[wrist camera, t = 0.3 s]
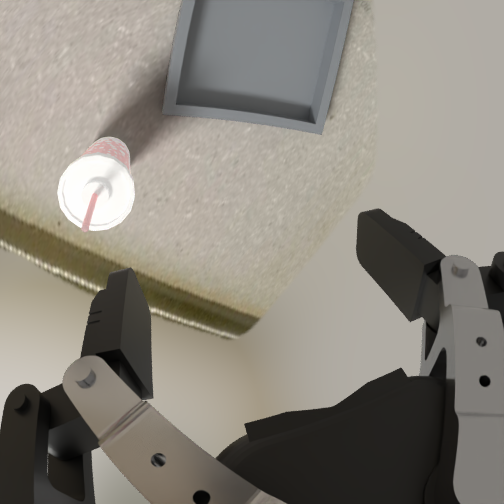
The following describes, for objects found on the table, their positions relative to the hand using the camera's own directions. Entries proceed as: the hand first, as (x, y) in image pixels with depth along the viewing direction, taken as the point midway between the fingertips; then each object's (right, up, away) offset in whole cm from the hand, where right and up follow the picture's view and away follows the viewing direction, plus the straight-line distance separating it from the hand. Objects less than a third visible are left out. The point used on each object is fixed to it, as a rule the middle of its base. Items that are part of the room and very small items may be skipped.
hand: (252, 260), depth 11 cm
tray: (0, +20, +15) cm, 25 cm away
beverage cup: (-14, +10, +17) cm, 24 cm away
